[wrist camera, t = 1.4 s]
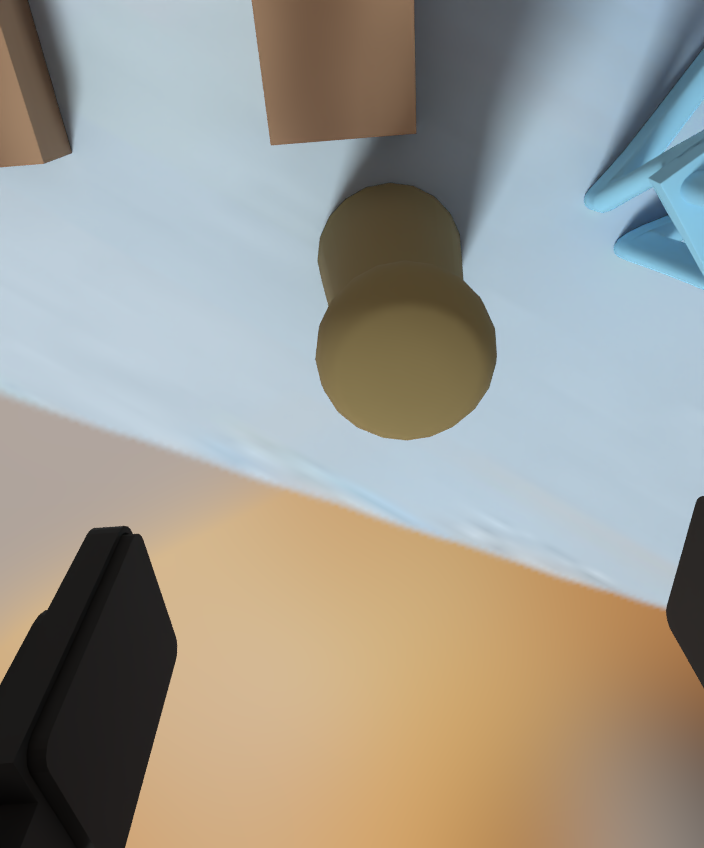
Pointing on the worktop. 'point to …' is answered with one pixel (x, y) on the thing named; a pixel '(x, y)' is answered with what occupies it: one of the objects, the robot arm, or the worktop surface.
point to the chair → (663, 186)
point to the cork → (400, 316)
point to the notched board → (280, 68)
